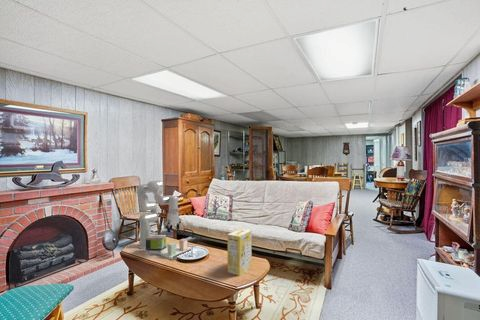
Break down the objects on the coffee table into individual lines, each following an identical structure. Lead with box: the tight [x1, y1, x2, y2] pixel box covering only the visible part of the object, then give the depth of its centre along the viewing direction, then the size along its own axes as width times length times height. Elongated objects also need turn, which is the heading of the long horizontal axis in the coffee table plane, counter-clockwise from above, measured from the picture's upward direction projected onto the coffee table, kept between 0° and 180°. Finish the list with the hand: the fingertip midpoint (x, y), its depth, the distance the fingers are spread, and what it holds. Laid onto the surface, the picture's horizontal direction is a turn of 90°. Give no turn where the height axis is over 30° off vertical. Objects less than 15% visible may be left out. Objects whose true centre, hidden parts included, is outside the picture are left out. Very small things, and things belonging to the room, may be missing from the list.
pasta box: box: [226, 227, 253, 277], centre depth 176 cm, size 18×10×28 cm, turn 149°
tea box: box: [145, 234, 167, 256], centre depth 208 cm, size 15×10×15 cm
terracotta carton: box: [178, 238, 188, 251], centre depth 209 cm, size 5×5×9 cm
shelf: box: [160, 243, 192, 261], centre depth 204 cm, size 17×20×4 cm
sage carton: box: [167, 242, 177, 256], centre depth 198 cm, size 5×5×9 cm
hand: (173, 230), depth 198 cm, fingers open, 9 cm apart
